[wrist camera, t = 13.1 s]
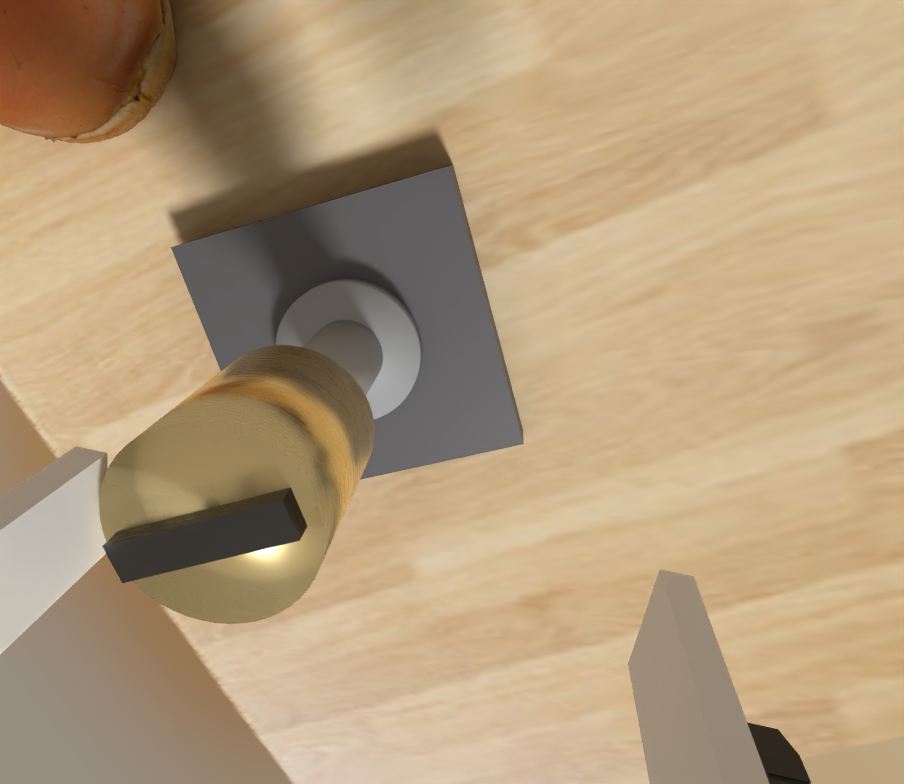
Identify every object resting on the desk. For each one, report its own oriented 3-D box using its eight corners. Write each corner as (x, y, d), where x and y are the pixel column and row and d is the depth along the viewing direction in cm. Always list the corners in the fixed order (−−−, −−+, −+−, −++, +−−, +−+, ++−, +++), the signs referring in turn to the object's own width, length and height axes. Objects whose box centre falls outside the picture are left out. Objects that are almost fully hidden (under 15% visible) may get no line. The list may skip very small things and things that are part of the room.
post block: (452, 164, 28) (422, 175, 18) (522, 430, 31) (527, 553, 22) (187, 242, 30) (36, 288, 20) (282, 483, 33) (192, 616, 24)
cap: (339, 324, 20) (260, 406, 14) (397, 479, 21) (350, 616, 15) (181, 371, 21) (41, 467, 15) (249, 516, 22) (147, 659, 16)
